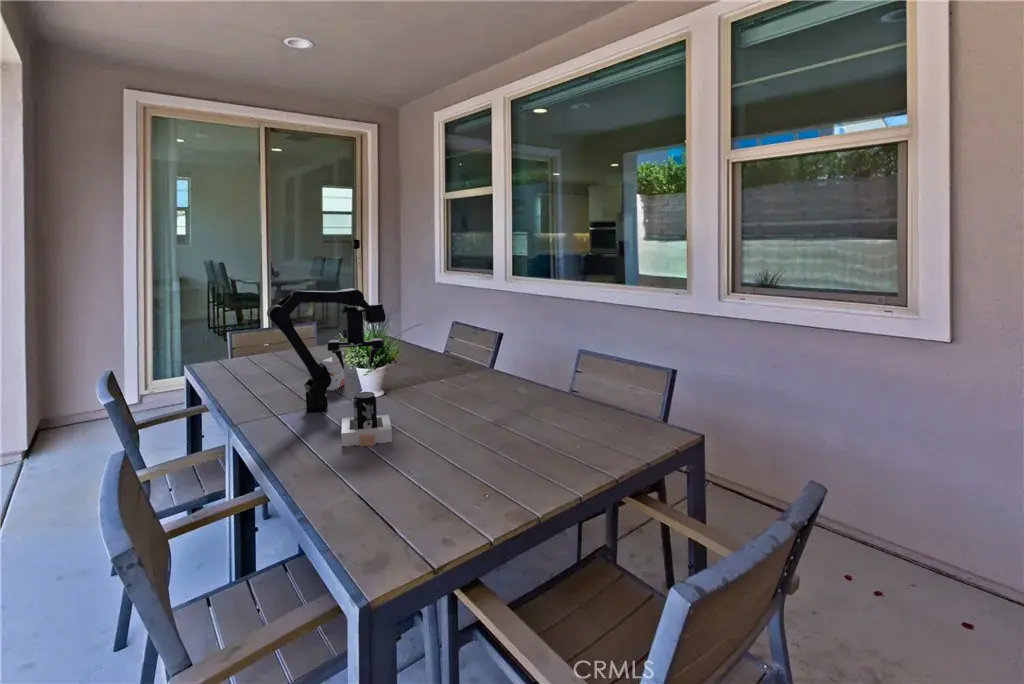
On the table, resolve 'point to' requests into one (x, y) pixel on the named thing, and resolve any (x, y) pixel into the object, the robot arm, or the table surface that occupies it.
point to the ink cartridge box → (335, 371)
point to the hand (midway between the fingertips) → (357, 368)
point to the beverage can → (365, 410)
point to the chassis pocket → (366, 432)
